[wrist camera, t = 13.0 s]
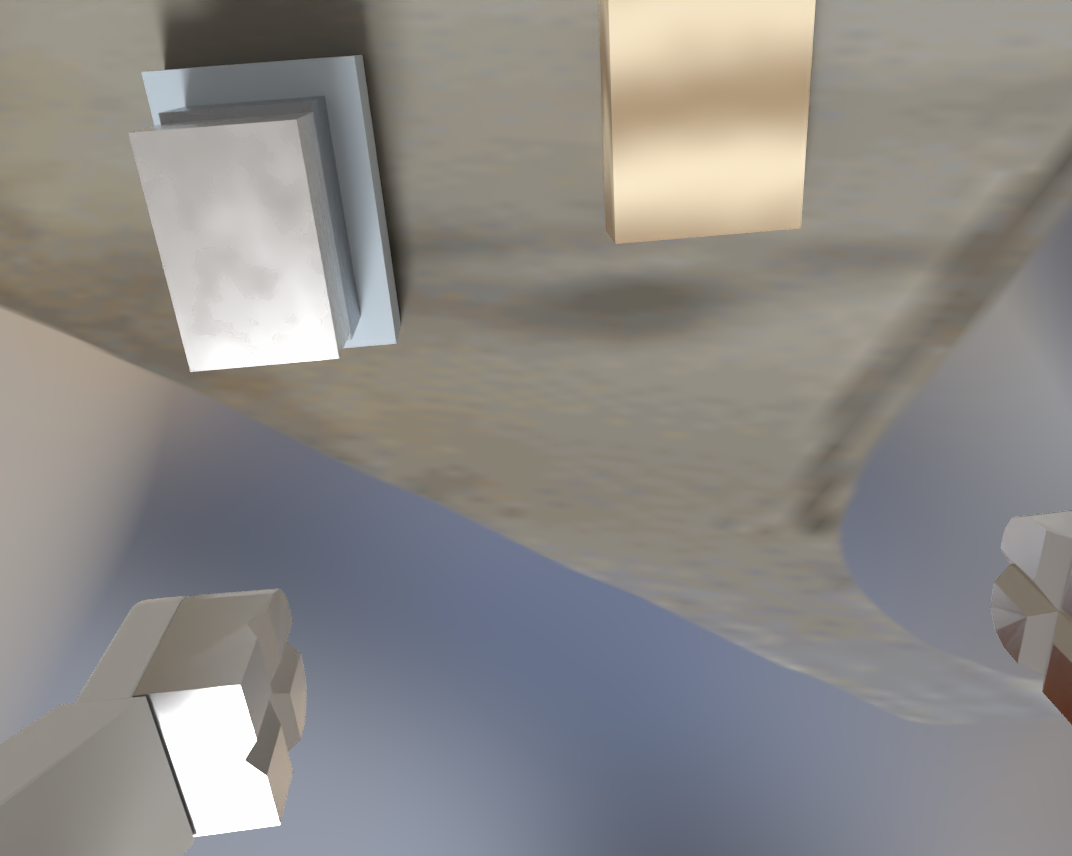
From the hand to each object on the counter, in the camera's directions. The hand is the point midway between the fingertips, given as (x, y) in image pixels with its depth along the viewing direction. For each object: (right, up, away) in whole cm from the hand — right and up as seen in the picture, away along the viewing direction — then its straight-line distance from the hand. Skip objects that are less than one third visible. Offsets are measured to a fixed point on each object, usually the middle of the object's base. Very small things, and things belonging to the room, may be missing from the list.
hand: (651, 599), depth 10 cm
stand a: (+6, +18, +31) cm, 36 cm away
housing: (-13, +12, +29) cm, 34 cm away
